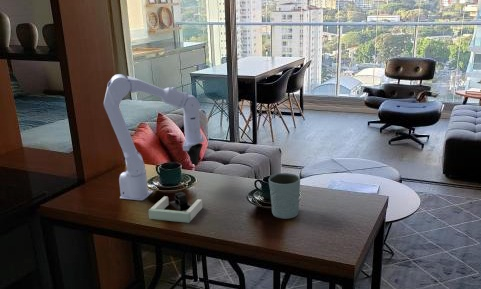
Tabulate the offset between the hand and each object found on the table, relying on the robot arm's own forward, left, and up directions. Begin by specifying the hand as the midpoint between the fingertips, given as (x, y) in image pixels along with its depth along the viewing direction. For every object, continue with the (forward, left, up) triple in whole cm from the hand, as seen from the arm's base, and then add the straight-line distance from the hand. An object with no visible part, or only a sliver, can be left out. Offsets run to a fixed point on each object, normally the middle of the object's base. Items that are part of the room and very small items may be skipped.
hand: (194, 163), depth 174 cm
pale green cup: (+37, -15, -10) cm, 41 cm away
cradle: (+2, -22, -9) cm, 24 cm away
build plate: (+1, -16, -10) cm, 19 cm away
